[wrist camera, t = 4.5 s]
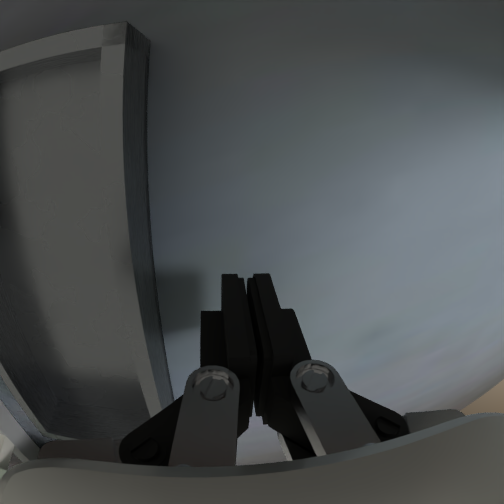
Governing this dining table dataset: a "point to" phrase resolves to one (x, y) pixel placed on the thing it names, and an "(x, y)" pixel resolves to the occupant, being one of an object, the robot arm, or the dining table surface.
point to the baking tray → (79, 235)
